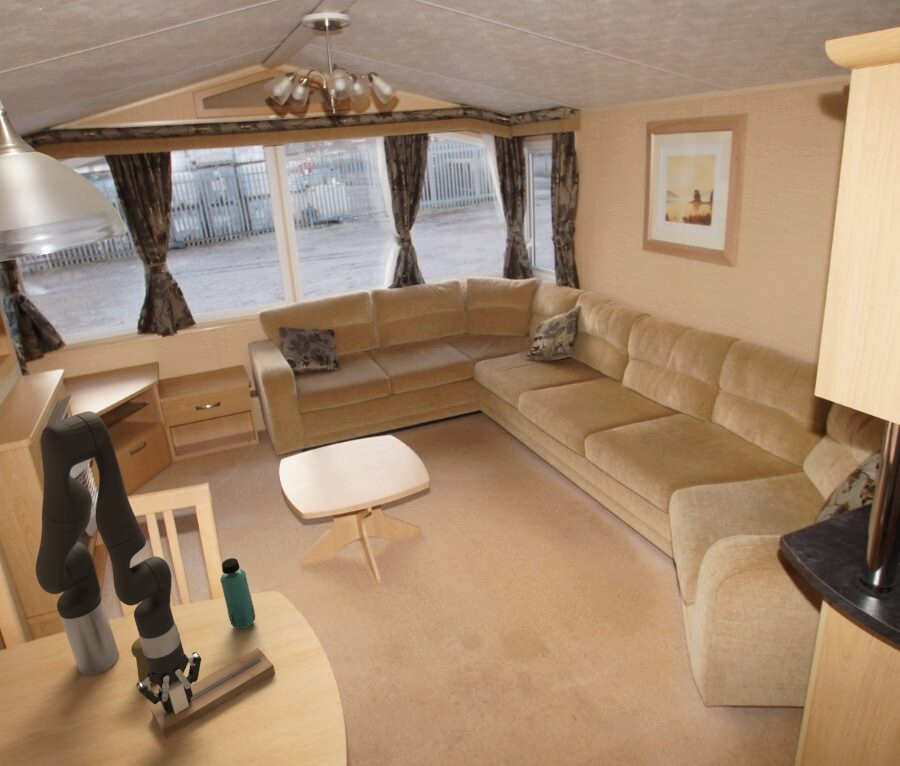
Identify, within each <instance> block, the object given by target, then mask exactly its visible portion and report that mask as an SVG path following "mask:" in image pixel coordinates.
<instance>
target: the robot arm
mask: <svg viewBox="0 0 900 766" xmlns="http://www.w3.org/2000/svg"><path fill="white" fill-rule="evenodd" d="M40 451H41V453H40V454H41V460H42V461H41V462H42V468H43V469H42V471H43V496H42V507H41V536H40V542H39V548H38V553H37V557H36V562H35V563H36V564H35V575H36V579H37V582H38V584H39V587H41V589H42V590H43V591H44V592H46V593H47V594H51V595H59V594H61V593H62V594H61V595H59V597H58V600H57V602H56V609H57V612H58V614H59V617H60V618H59V619H60V620H61V623H62V626H63V628H64V631H65V634H66V637H67V640H68V643H69V646H70V648H71V651H72V655H73V657H74V660H75V663H76V666H77V668H78V669H77V670H78V671H79V673H80V674H81V675H83V676H95V675H98V674H99V675H100V674H101V673H104V672H106V671H108V670H109V669H111V668H112V667H113V666H114V665H115V664H116V663H117V661H119V658H120V653H119V650H118V649H119V648H118V645H117V642H116V639H115V636H114V633H113V630H112V626H111V624H110V620H109V618H108V615H107V611H106V607H105V605H104V602H103V599H102V595H101V585H100V582H99V576H98V574H97V573H98V572H97V568H96V564H95V560H94V558H93V556H92V554H91V552H90V550H89V549H88V547H87V546H86V545H85V544H84V543H82V542H81V541H80V539H81V538H82V536H83V535H84V533H85V532H86V530H87V529H88V526H89V524H90V521H91V515H92V508H93V507H92V504H93V500H92V495H91V492H90V490H89V489H88V488H87V487H86V486H85V485H84V484H82V482H81V481H79V480H77V479H76V478H74V477H72V476H71V470H72V468H73V467H75V466H76V465H79V464H81V463H84V462H87V461H88V460H91V459H94V462H95V464H96V466H97V470H98V477H99V478H98V479H99V480H98V481H99V482H98V493H97V500H96V505H95V524H96V527H97V531H98V532H99V534H100V537H101V539H102V541H103V543H104V545H105V548H106V550H107V552H108V555H109V559H110V562H111V564H110V565H111V568H112V574H113V575H112V576H113V585H114V591H115V594H116V597H117V598H118V600H119V601H120V602H121V603H123V604H124V605H126V606H131V607H132V606H136V607H135V609H134V611H133V619H134V622H135V626H136V628H137V632H138V635H139V638H140V644H141V647H142V651H143V654H144V657H145V661H146V664H147V667H148V675H147V678H146V679H145V680H144V681H143V682H141V681H140V682H139V681H138V682H137V683H136V684H135V685H136V688H137V689H138V691H139V693H140V694H141V695H142V696H143V697H145V698H146V699H147V700H148V701H149V702H151V703H152V704H153V705H157V704H159V702H160V703H162V706H163V708H164V710H165V711H166V712H167V711H169V713H170V712H172V711H173V710H172V706H171V703H170V700H169V698H168V690H169V685H170V684H171V683H173V682H175V681H178V680H180V681H181V682H182V683H183V684H184V686H183V687H184V690H185V694H186V697H187V701H188V702H189V701H191V698H192V697H193V694H192V690H191V685H193V684H194V683H196V682H198V681H199V676H200V675H199V674H200V668H201V664H202V657H201V656H200V654H198V652H197V651H194V652H193V651H192V654H191V655H187V654H186V653H185V650H184V647H183V643H182V640H181V634H180V632H179V629H178V627H177V624H176V622H175V619H174V615H173V612H172V607H171V595H172V594H171V592H172V582H173V581H172V578H173V577H172V571H171V567H170V566H169V564H168V563H167V561H166V560H165V559H163V558H162V557H160V556H155V555H154V556H150V557H148V558H146V559H144V560H143V561H140V562H139V563H136V564H135V565H133V566H132V567H131V561H132V559H133V557H134V556H135V555H136V554H137V553H139V552H140V551H141V550H142V549H144V548H145V546H146V544H147V540H146V537H145V535H144V533H143V530H142V529H141V526H140V524H139V521H138V519H137V518H136V515H135V513H134V510H133V508H132V505H131V504H130V501H129V498H128V495H127V490H126V487H125V484H124V480H123V475H122V472H121V468H120V464H119V461H118V458H117V455H116V454H117V453H116V450H115V447H114V444H113V440H112V438H111V433H110V432H109V430H108V427H107V425H106V424H105V422H104V420H103V419H102V418H101V416H100V415H99V414H97V413H96V412H94V411H90V410H89V411H84V412H81V413H77V414H74V415H72V416H69V417H66V418H63V419H60V420H57V421H54V422H52V423H50V424H48V425H47V426H45V427H44V428H43V429H42V431H41V435H40ZM188 664H189V670H188V675H187V676H185V674H184V673H185V671H186V669H187V666H188ZM151 682H152V683H155V684H157V690H158V691H157V692H156V693H155V692H154V691H153V690H152V689H151V688H152V687H151V686H150V683H151Z"/></svg>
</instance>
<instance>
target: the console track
mask: <svg viewBox="0 0 900 766" xmlns="http://www.w3.org/2000/svg"><path fill="white" fill-rule="evenodd" d="M275 674H276V672H275V666H274V663H272V662H271V660H269V659H268V657H267V656H266V655H265V654H264V652H262V650H261V649H260V648H259V647H256V648H255V649H253V650H250V651H249V652H247V653H246V654H244V655H242V656H240V657H239V658H236V659H235V660H234V661H232V662H230V663H229V664H226V665H225V666H223V667H221V668H219V669H218V670H216V671H214V672H212V673H210V674H209V675H207V676H205V677H204V678H201V679H200V680H197V681H196V682H193V683H192V684H191V690H192V694H193V697H192V698H191V701H189V702H188V705H189V707H187V708H185V709H184V710H182V711H180V712H179V713H177V714H175V713H174V711H172V712H170V713H169V711H167V712H166V711H165V710H164V708H163V706H162V703H161V702H160V703H159V702H158V703H157V704H155V705H154V706H152V707H150V712H151V715H152V718H153V719H154V721H155V723H156V725H157V726H158V728H159V730H160V731H161V733H162V735H163V737H164V738H165V740H166V739H167V738H169V737H171V736H173V735H175V734H176V733H178V732H180V731H182V730H183V729H185V728H186V727H188V726H190V725H191V724H193V723H195V722H196V721H198V720H199V719H201V718H203V717H204V716H206V715H208V714H210V713H211V712H213V711H215V710H216V709H218V708H220V707H222V706H224V705H225V704H226V703H228V702H230V701H231V700H233V699H234V698H236V697H239V696H240V695H241V694H244V693H245V692H247V691H248V690H250V689H251V688H253V687H255V686H257V685H259V684H260V683H261V682H263V681H264V680H266V679H268V678H270V677H272V675H273V676H274V675H275ZM172 710H173V709H172Z"/></svg>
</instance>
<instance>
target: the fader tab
mask: <svg viewBox="0 0 900 766" xmlns="http://www.w3.org/2000/svg"><path fill="white" fill-rule="evenodd" d="M183 686H184V684H183V683H182V682H181V681H180V680H178V681H175V682H173V683H171V684H170V685H169V690H168V698H169V700H170V703H171V706H172V709H173V711H174V713H175V714H177V713H179V712H180V711H182V710H184V709H185V708H187V707H189V705H188V701H187V697H186V694H185V690H184V687H183Z"/></svg>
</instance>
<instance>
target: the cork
mask: <svg viewBox="0 0 900 766" xmlns="http://www.w3.org/2000/svg"><path fill="white" fill-rule="evenodd" d="M130 651H131V654H132V656H134V657H135V659H136V667H137V675H138V677H137V678H138V682H140V681H141V682H143V681H144V680H145V679H146V678H147V675H148V667H147V664H146V661H145V657H144V654H143V651H142V647H141V644H140V637H139V638H137V639H136V640H135V641H134V642H133V643H132V644H131V648H130ZM150 686H151V688H153V687H155V686H158V684H155V683H152V682H151V683H150Z"/></svg>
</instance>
